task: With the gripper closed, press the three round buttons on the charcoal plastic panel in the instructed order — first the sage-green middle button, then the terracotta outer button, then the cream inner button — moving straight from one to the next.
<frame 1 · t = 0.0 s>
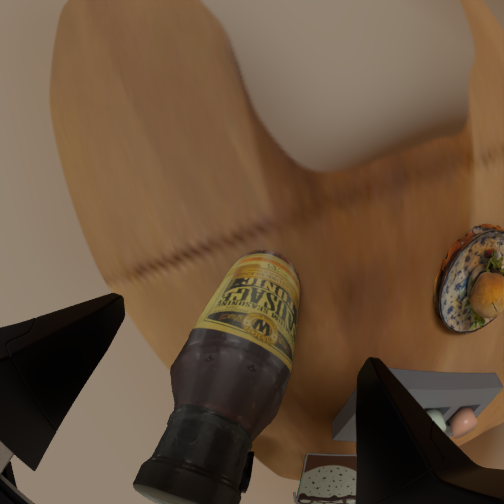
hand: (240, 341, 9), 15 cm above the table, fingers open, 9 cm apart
terracotta button: (463, 422, 23), point 4 cm above the table, slide at 0.0 cm
sage button: (430, 425, 24), point 5 cm above the table, slide at 0.0 cm
food container: (327, 459, 37), on the table
sauce bottle: (263, 276, 25), on the table
panel: (422, 401, 28), on the table
burger: (475, 276, 21), on the table
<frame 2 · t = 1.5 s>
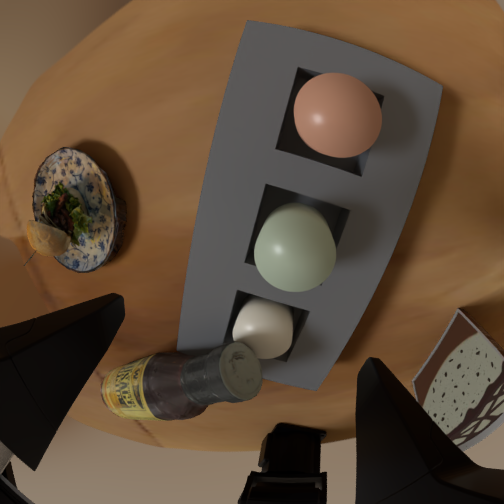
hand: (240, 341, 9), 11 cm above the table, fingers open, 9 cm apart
cream button: (264, 324, 19), point 3 cm above the table, slide at 1.9 cm, touching sauce bottle
terracotta button: (334, 117, 12), point 4 cm above the table, slide at 0.0 cm
sage button: (295, 245, 15), point 4 cm above the table, slide at 0.0 cm
food container: (454, 349, 21), on the table
sauce bottle: (120, 395, 26), point 3 cm above the table, touching cream button, panel
panel: (296, 222, 19), on the table
burger: (80, 207, 22), on the table
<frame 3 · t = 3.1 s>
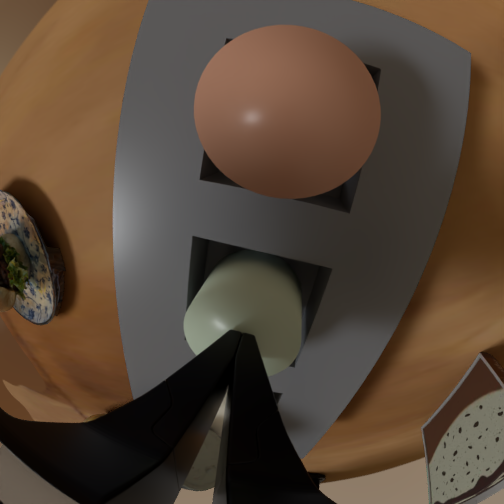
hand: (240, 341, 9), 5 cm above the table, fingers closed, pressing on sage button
cream button: (228, 400, 14), point 3 cm above the table, slide at 1.9 cm, touching sauce bottle
terracotta button: (288, 113, 6), point 4 cm above the table, slide at 0.0 cm
sage button: (248, 314, 10), point 3 cm above the table, slide at 1.1 cm, touching gripper
food container: (471, 391, 15), on the table
sauce bottle: (101, 441, 21), point 3 cm above the table, touching cream button, panel
panel: (260, 273, 13), on the table
burger: (26, 252, 17), on the table
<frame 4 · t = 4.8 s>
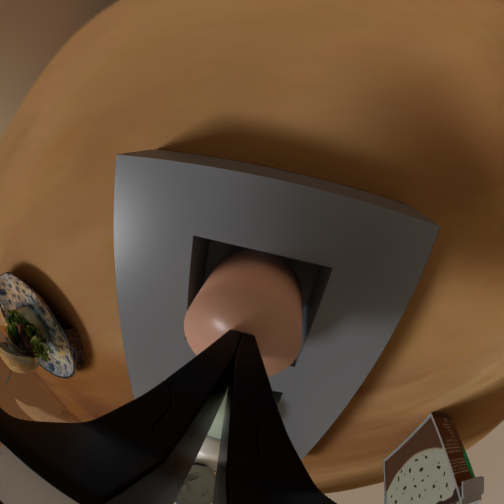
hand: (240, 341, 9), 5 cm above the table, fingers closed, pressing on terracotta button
cream button: (218, 446, 17), point 3 cm above the table, slide at 1.9 cm, touching sauce bottle
terracotta button: (248, 314, 10), point 3 cm above the table, slide at 1.1 cm, touching gripper
sage button: (228, 403, 14), point 3 cm above the table, slide at 1.7 cm
food container: (429, 435, 18), on the table
sauce bottle: (114, 461, 24), point 3 cm above the table, touching cream button, panel
panel: (238, 368, 16), on the table
burger: (42, 319, 20), on the table
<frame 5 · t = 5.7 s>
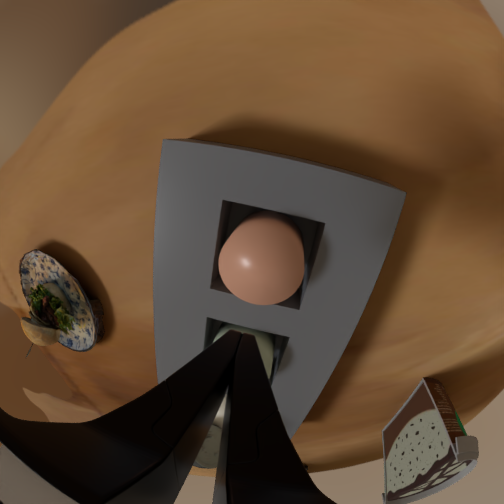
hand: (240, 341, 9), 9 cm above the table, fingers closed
cream button: (229, 406, 20), point 3 cm above the table, slide at 1.9 cm, touching sauce bottle
terracotta button: (264, 255, 14), point 3 cm above the table, slide at 1.6 cm
sage button: (242, 352, 17), point 3 cm above the table, slide at 1.7 cm
food container: (423, 405, 21), on the table
sauce bottle: (124, 439, 27), point 3 cm above the table, touching cream button, panel
panel: (249, 326, 20), on the table
burger: (64, 295, 23), on the table
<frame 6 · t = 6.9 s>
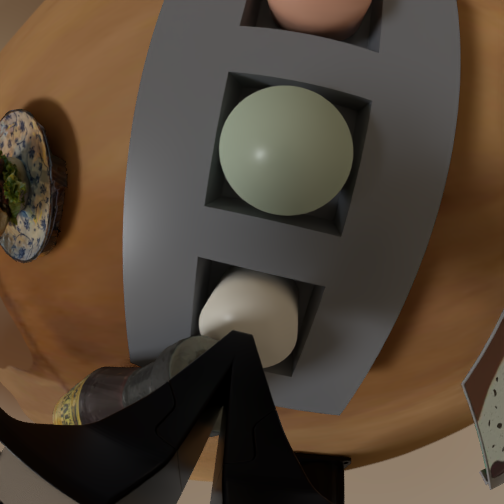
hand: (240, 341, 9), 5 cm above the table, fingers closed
cream button: (252, 313, 12), point 2 cm above the table, slide at 2.2 cm, touching panel, sauce bottle
sage button: (287, 150, 9), point 3 cm above the table, slide at 1.7 cm
sauce bottle: (79, 428, 17), point 5 cm above the table, touching cream button, gripper, panel
panel: (289, 151, 12), on the table
burger: (26, 183, 15), on the table
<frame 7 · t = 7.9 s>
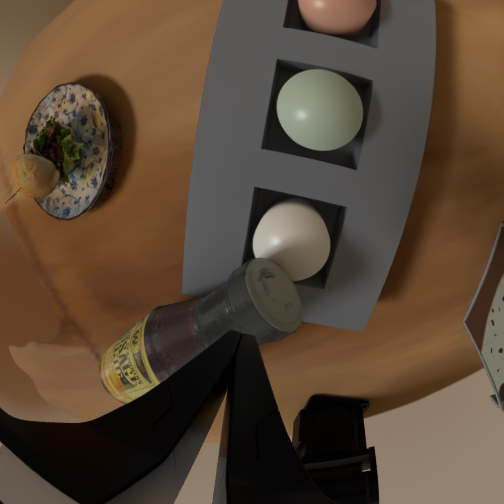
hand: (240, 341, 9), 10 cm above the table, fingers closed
cream button: (292, 236, 15), point 2 cm above the table, slide at 2.0 cm
terracotta button: (334, 4, 9), point 3 cm above the table, slide at 1.6 cm
sage button: (318, 112, 12), point 3 cm above the table, slide at 1.7 cm
food container: (501, 278, 16), on the table
sauce bottle: (124, 378, 23), point 3 cm above the table, touching panel
panel: (314, 117, 15), on the table
burger: (72, 149, 19), on the table
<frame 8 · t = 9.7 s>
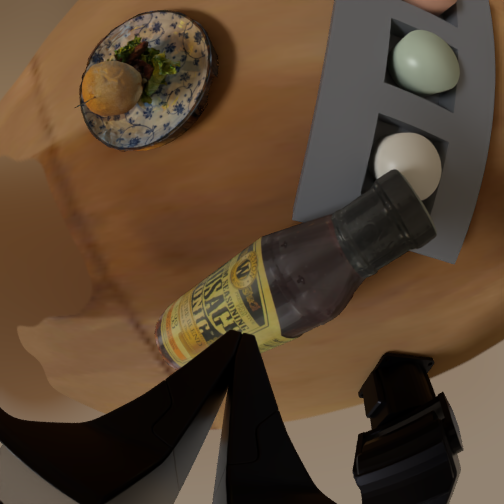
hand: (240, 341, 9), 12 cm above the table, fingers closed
cream button: (403, 165, 14), point 2 cm above the table, slide at 2.0 cm
sage button: (422, 64, 11), point 3 cm above the table, slide at 1.7 cm
sauce bottle: (182, 345, 22), point 3 cm above the table, touching panel
panel: (407, 73, 14), on the table
burger: (147, 80, 17), on the table
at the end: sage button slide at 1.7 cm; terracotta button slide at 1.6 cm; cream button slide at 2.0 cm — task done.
